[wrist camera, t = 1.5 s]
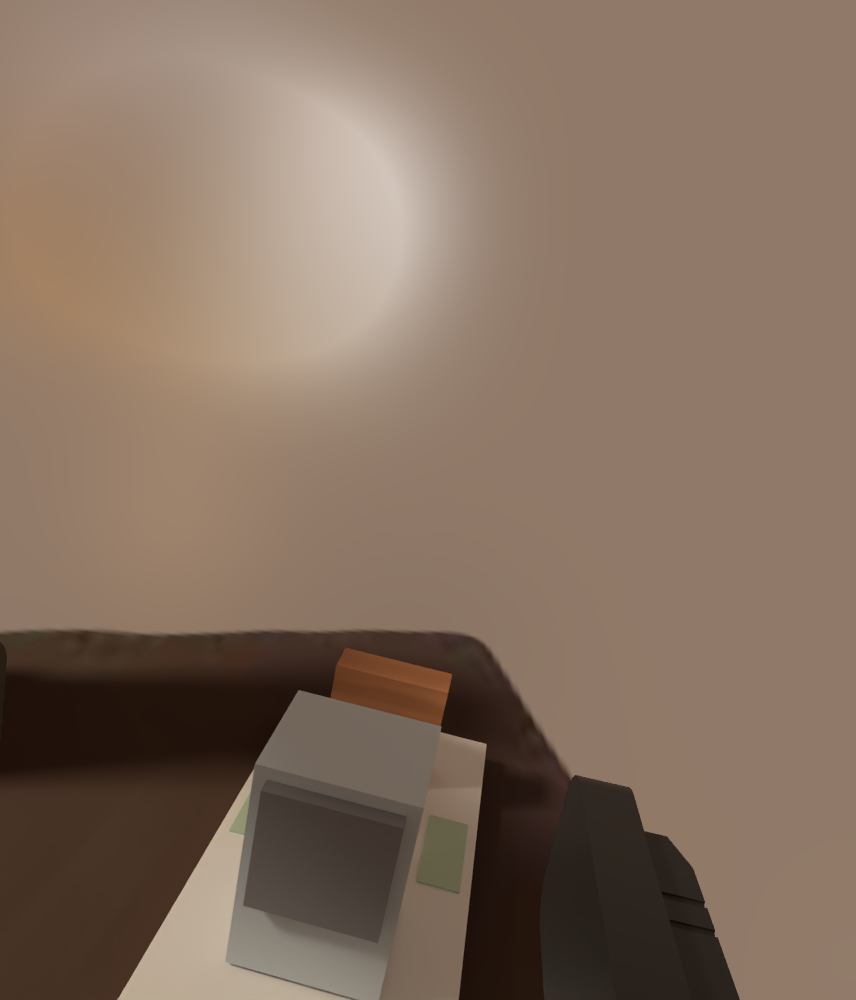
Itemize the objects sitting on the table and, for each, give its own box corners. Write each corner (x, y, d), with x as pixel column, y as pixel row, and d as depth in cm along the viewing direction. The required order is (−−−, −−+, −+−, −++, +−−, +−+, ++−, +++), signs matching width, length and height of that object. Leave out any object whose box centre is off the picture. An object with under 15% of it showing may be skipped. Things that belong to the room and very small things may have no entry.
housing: (435, 1164, 25) (444, 1130, 24) (96, 1062, 26) (99, 1028, 25) (481, 764, 46) (487, 742, 45) (293, 716, 47) (297, 694, 46)
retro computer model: (374, 1020, 27) (421, 820, 25) (218, 975, 28) (248, 774, 25) (401, 901, 33) (441, 726, 30) (269, 865, 33) (298, 689, 31)
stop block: (425, 789, 40) (448, 693, 39) (318, 761, 41) (336, 665, 39) (431, 766, 42) (452, 674, 41) (328, 740, 43) (345, 647, 41)
